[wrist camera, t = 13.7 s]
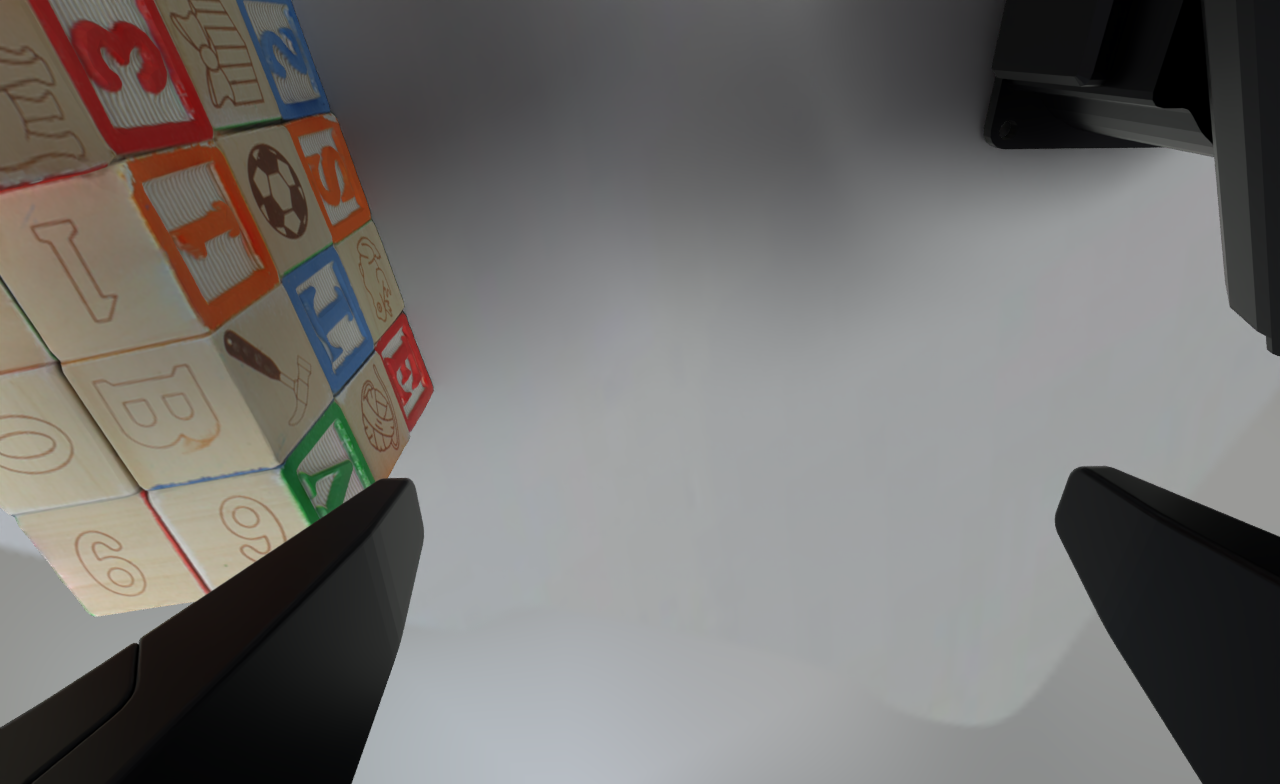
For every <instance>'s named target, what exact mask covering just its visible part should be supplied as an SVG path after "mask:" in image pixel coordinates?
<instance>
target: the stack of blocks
mask: <svg viewBox="0 0 1280 784" xmlns="http://www.w3.org/2000/svg"><path fill="white" fill-rule="evenodd" d="M403 308H404V302H403V299H402V297H401V294H400V291H399V289H398V286H397V283H396V280H395V278H394V275H393V272H392V269H391V267H390V264H389V261H388V259H387V256H386V253H385V251H384V248H383V245H382V242H381V240H380V237H379V234H378V232H377V229H376V227H375V225H374V223H373V221H372V220H371V214H370V210H369V207H368V204H367V201H366V198H365V195H364V192H363V189H362V187H361V184H360V181H359V179H358V176H357V173H356V170H355V167H354V164H353V162H352V159H351V156H350V153H349V150H348V148H347V145H346V142H345V140H344V137H343V135H342V132H341V129H340V126H339V123H338V120H337V118H336V117H335V116H334V115H333V114H332V113H331V112H330V108H329V103H328V101H327V98H326V95H325V92H324V89H323V87H322V84H321V82H320V79H319V76H318V74H317V71H316V69H315V66H314V63H313V60H312V57H311V54H310V52H309V49H308V46H307V44H306V41H305V38H304V36H303V33H302V30H301V27H300V25H299V22H298V19H297V16H296V14H295V11H294V8H293V5H292V2H291V0H0V508H2V509H3V510H4V511H5V512H7V513H8V514H9V515H12V516H14V517H15V519H16V521H17V523H18V525H19V527H20V528H21V529H22V531H23V532H24V533H25V534H26V535H27V537H28V538H29V539H30V540H31V542H32V543H33V544H34V546H35V547H36V548H37V549H38V551H39V552H40V553H41V554H42V556H43V557H44V558H45V559H46V560H47V562H48V563H49V564H50V565H51V567H52V568H53V570H54V571H55V573H56V574H57V575H58V577H59V578H60V580H61V581H62V582H63V583H64V584H65V585H66V586H67V587H68V588H69V589H70V590H71V591H72V593H73V594H74V595H75V597H76V598H77V599H78V601H79V602H80V603H81V605H82V606H83V607H84V609H85V610H86V611H87V612H88V613H89V614H91V615H92V616H104V615H110V614H117V613H123V612H130V611H136V610H142V609H148V608H155V607H161V606H168V605H175V604H182V603H189V602H196V601H197V600H199V599H200V598H202V597H203V596H205V595H206V594H208V593H209V592H211V591H212V590H214V589H215V588H217V587H218V586H220V585H221V584H223V583H224V582H226V581H227V580H229V579H230V578H232V577H233V576H235V575H236V574H238V573H239V572H241V571H242V570H244V569H245V568H247V567H248V566H250V565H251V564H253V563H254V562H256V561H257V560H259V559H260V558H262V557H263V556H265V555H266V554H268V553H269V552H271V551H272V550H274V549H275V548H277V547H278V546H280V545H281V544H283V543H284V542H286V541H287V540H289V539H290V538H292V537H293V536H295V535H296V534H298V533H299V532H301V531H302V530H304V529H305V528H307V527H308V526H310V525H311V524H313V523H314V522H316V521H317V520H319V519H320V518H322V517H323V516H325V515H326V514H328V513H329V512H331V511H332V510H334V509H335V508H337V507H338V506H340V505H341V504H343V503H344V502H346V501H347V500H349V499H350V498H352V497H353V496H355V495H356V494H358V493H359V492H361V491H362V490H364V489H365V488H367V487H368V486H370V485H371V484H373V483H374V482H376V481H378V480H379V479H383V478H388V477H389V475H390V473H391V471H392V469H393V467H394V465H395V463H396V462H397V460H398V458H399V457H400V455H401V453H402V451H403V449H404V447H405V446H406V444H407V443H408V441H409V439H410V434H409V433H410V432H411V431H412V429H413V427H414V426H415V424H416V422H417V421H418V419H419V417H420V416H421V414H422V413H423V411H424V409H425V407H426V405H427V403H428V401H429V399H430V397H431V395H432V393H433V391H434V389H433V386H432V383H431V380H430V378H429V375H428V373H427V370H426V368H425V365H424V362H423V360H422V357H421V355H420V352H419V350H418V347H417V344H416V342H415V339H414V337H413V334H412V331H411V329H410V327H409V324H408V321H407V318H406V316H405V314H404V313H403V311H402V310H403Z"/></svg>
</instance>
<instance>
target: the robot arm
mask: <svg viewBox="0 0 1280 784" xmlns="http://www.w3.org/2000/svg"><path fill="white" fill-rule="evenodd" d="M992 70H993V72H994V73H995V75H996V77H995V82H994V86H993V91H992V95H991V100H990V104H989V109H988V113H987V118H986V122H985V127H984V138H985V140H986V142H987V143H988V144H989V145H991V146H994V147H997V148H1001V149H1056V148H1150V147H1166V148H1171V149H1176V150H1181V151H1186V152H1191V153H1196V154H1201V155H1206V156H1211V157H1214V159H1215V170H1216V182H1217V194H1218V205H1219V217H1220V228H1221V240H1222V251H1223V263H1224V275H1225V284H1226V289H1227V294H1228V299H1229V305H1230V307H1231V308H1232V309H1233V310H1234V311H1235V312H1236V313H1237V314H1238V315H1239V316H1241V317H1242V318H1243V319H1244V320H1245V321H1246V322H1247V323H1248V324H1250V325H1251V326H1252V327H1253V328H1254V329H1255V330H1256V331H1258V332H1259V333H1261V334H1263V335H1265V336H1266V344H1267V350H1268V351H1270V352H1271V353H1272V354H1275V355H1277V356H1280V0H1006V4H1005V8H1004V13H1003V18H1002V22H1001V27H1000V31H999V36H998V40H997V45H996V50H995V54H994V59H993V63H992ZM1007 121H1009V123H1010V130H1009V132H1008V134H1007V135H1005V136H1004V137H1002V138H1001V137H1000V135H999V130H1000V128H1001V126H1002V125H1003V124H1004V123H1005V122H1007ZM1055 526H1056V530H1057V533H1058V535H1059V537H1060V539H1061V541H1062V543H1063V545H1064V547H1065V549H1066V551H1067V553H1068V555H1069V557H1070V559H1071V561H1072V563H1073V565H1074V567H1075V569H1076V571H1077V573H1078V575H1079V577H1080V579H1081V581H1082V583H1083V585H1084V587H1085V589H1086V591H1087V593H1088V595H1089V597H1090V599H1091V601H1092V603H1093V605H1094V607H1095V609H1096V611H1097V613H1098V615H1099V617H1100V619H1101V621H1102V623H1103V625H1104V626H1105V628H1106V630H1107V632H1108V634H1109V635H1110V637H1111V639H1112V640H1113V642H1114V644H1115V645H1116V647H1117V649H1118V650H1119V652H1120V653H1121V655H1122V657H1123V658H1124V660H1125V661H1126V663H1127V665H1128V666H1129V668H1130V669H1131V671H1132V673H1133V674H1134V676H1135V677H1136V679H1137V680H1138V682H1139V684H1140V685H1141V687H1142V688H1143V690H1144V692H1145V693H1146V695H1147V696H1148V698H1149V700H1150V701H1151V703H1152V704H1153V706H1154V708H1155V709H1156V711H1157V712H1158V714H1159V716H1160V717H1161V719H1162V720H1163V722H1164V723H1165V725H1166V727H1167V728H1168V730H1169V731H1170V733H1171V734H1172V736H1173V738H1174V739H1175V741H1176V742H1177V744H1178V745H1179V747H1180V749H1181V750H1182V752H1183V754H1184V755H1185V757H1186V758H1187V760H1188V762H1189V763H1190V765H1191V766H1192V768H1193V770H1194V771H1195V773H1196V774H1197V776H1198V777H1199V779H1200V781H1201V782H1202V784H1280V537H1279V536H1277V535H1274V534H1272V533H1270V532H1267V531H1265V530H1262V529H1260V528H1258V527H1255V526H1253V525H1250V524H1248V523H1245V522H1243V521H1240V520H1238V519H1236V518H1233V517H1231V516H1229V515H1226V514H1224V513H1221V512H1219V511H1216V510H1214V509H1212V508H1209V507H1207V506H1204V505H1202V504H1199V503H1197V502H1195V501H1192V500H1190V499H1187V498H1185V497H1183V496H1180V495H1178V494H1175V493H1173V492H1170V491H1168V490H1166V489H1163V488H1161V487H1158V486H1156V485H1154V484H1151V483H1149V482H1146V481H1144V480H1141V479H1139V478H1137V477H1134V476H1132V475H1129V474H1127V473H1124V472H1122V471H1120V470H1117V469H1115V468H1112V467H1108V466H1082V467H1078V468H1076V469H1074V470H1073V471H1072V472H1071V473H1070V475H1069V478H1068V480H1067V483H1066V486H1065V489H1064V491H1063V494H1062V497H1061V500H1060V502H1059V505H1058V508H1057V511H1056V514H1055ZM423 540H424V527H423V521H422V516H421V512H420V507H419V502H418V497H417V492H416V488H415V485H414V483H413V481H412V480H410V479H409V478H383V479H379V480H378V481H376V482H374V483H373V484H371V485H370V486H368V487H367V488H365V489H364V490H362V491H361V492H359V493H358V494H356V495H355V496H353V497H352V498H350V499H349V500H347V501H346V502H344V503H343V504H341V505H340V506H338V507H337V508H335V509H334V510H332V511H331V512H329V513H328V514H326V515H325V516H323V517H322V518H320V519H319V520H317V521H316V522H314V523H313V524H311V525H310V526H308V527H307V528H305V529H304V530H302V531H301V532H299V533H298V534H296V535H295V536H293V537H292V538H290V539H289V540H287V541H286V542H284V543H283V544H281V545H280V546H278V547H277V548H275V549H274V550H272V551H271V552H269V553H268V554H266V555H265V556H263V557H262V558H260V559H259V560H257V561H256V562H254V563H253V564H251V565H250V566H248V567H247V568H245V569H244V570H242V571H241V572H239V573H238V574H236V575H235V576H233V577H232V578H230V579H229V580H227V581H226V582H224V583H223V584H221V585H220V586H218V587H217V588H215V589H214V590H212V591H211V592H209V593H208V594H206V595H205V596H203V597H202V598H200V599H199V600H197V601H196V602H194V603H193V604H191V605H190V606H188V607H187V608H185V609H184V610H182V611H181V612H179V613H178V614H176V615H175V616H173V617H171V618H170V619H168V620H167V621H165V622H164V623H162V624H161V625H160V626H158V627H157V628H155V629H153V630H152V631H150V632H149V633H148V634H146V635H144V636H143V637H142V638H141V639H140V640H139V644H137V643H133V644H131V645H129V646H128V647H126V648H125V649H123V650H122V651H120V652H119V653H117V654H116V655H114V656H113V657H111V658H110V659H108V660H107V661H105V662H104V663H102V664H101V665H99V666H98V667H96V668H95V669H93V670H91V671H90V672H88V673H87V674H85V675H84V676H82V677H81V678H79V679H77V680H76V681H74V682H73V683H72V684H70V685H68V686H67V687H65V688H63V689H62V690H60V691H59V692H58V693H56V694H54V695H53V696H51V697H50V698H48V699H47V700H45V701H43V702H42V703H40V704H38V705H37V706H35V707H33V708H32V709H30V710H29V711H27V712H25V713H24V714H22V715H20V716H19V717H17V718H15V719H14V720H12V721H10V722H9V723H7V724H6V725H4V726H2V727H0V784H352V781H353V778H354V775H355V772H356V769H357V767H358V764H359V761H360V758H361V755H362V752H363V749H364V747H365V744H366V741H367V738H368V735H369V733H370V730H371V727H372V724H373V721H374V718H375V715H376V712H377V710H378V707H379V704H380V701H381V698H382V696H383V693H384V690H385V687H386V684H387V681H388V678H389V676H390V673H391V670H392V667H393V664H394V661H395V658H396V655H397V652H398V649H399V646H400V642H401V638H402V634H403V630H404V626H405V622H406V617H407V613H408V608H409V604H410V599H411V595H412V590H413V586H414V582H415V577H416V573H417V568H418V564H419V559H420V555H421V550H422V546H423Z"/></svg>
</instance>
